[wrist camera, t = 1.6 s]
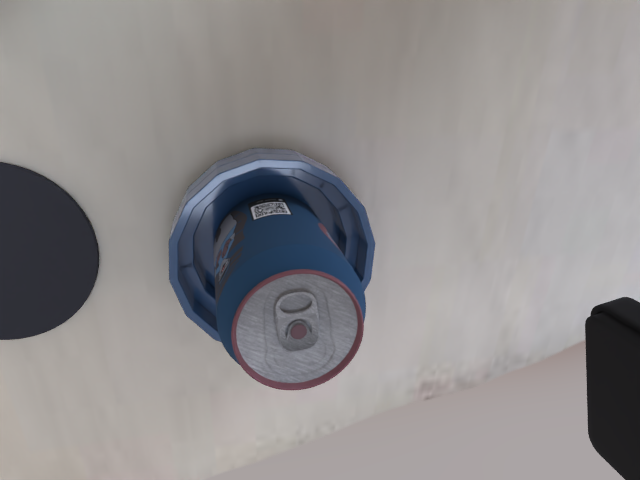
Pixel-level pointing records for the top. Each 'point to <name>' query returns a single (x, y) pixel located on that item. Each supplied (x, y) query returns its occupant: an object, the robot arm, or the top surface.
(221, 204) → the bowl
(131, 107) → the top surface
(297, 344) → the soda can
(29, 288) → the coaster
